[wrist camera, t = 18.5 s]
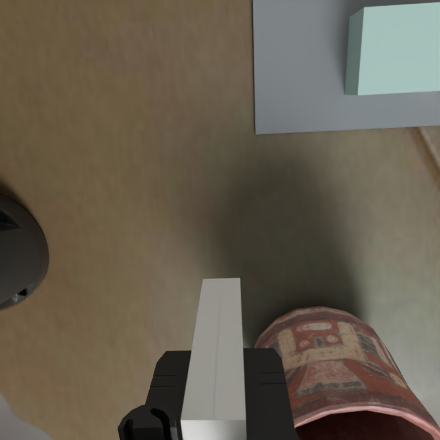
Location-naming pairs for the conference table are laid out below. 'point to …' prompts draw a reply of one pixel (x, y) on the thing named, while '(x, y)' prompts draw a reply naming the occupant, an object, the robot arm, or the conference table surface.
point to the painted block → (394, 49)
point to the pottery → (344, 379)
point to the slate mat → (321, 72)
